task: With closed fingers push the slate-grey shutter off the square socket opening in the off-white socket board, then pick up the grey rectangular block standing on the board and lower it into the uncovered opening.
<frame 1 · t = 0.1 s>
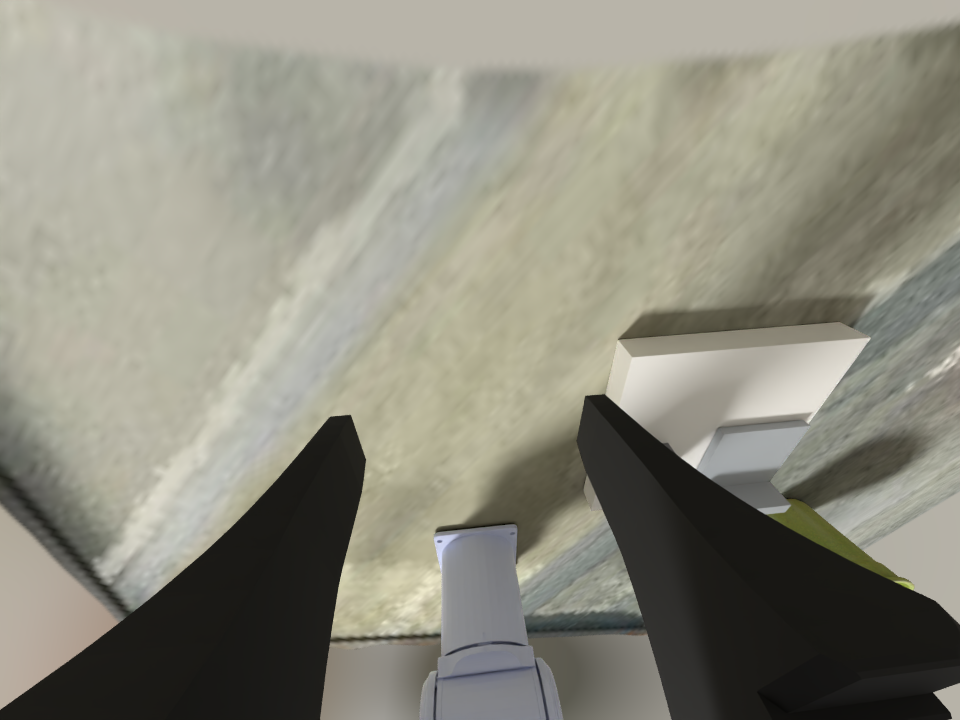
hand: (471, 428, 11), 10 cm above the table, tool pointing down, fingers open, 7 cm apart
plant pot: (771, 512, 37), on the table
socket board: (691, 419, 27), on the table
shutter: (753, 472, 25), point 3 cm above the table, slide at 0.0 cm
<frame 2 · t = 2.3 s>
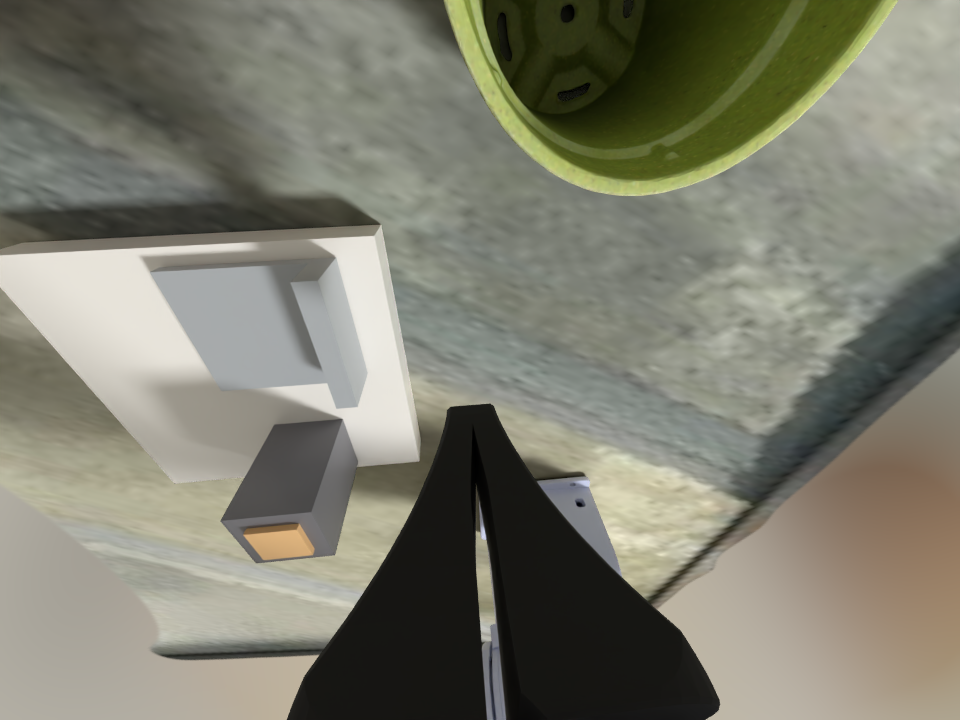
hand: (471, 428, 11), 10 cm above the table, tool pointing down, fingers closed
plant pot: (559, 19, 13), on the table
socket board: (269, 364, 20), on the table
shutter: (264, 341, 15), point 3 cm above the table, slide at 0.0 cm
grey rectangular block: (318, 444, 21), point 2 cm above the table, touching socket board
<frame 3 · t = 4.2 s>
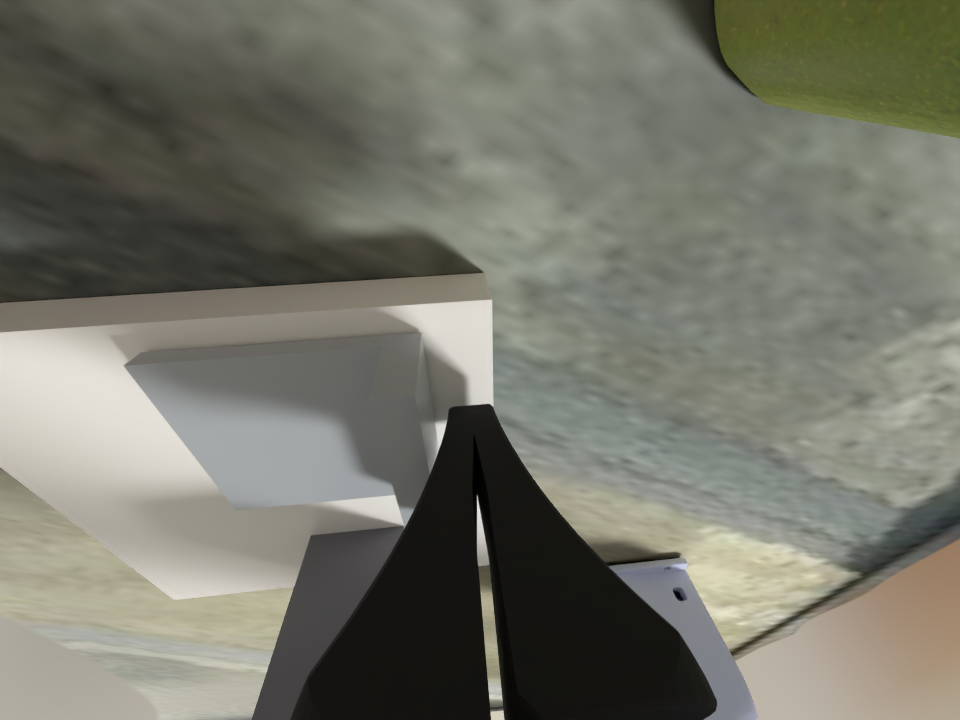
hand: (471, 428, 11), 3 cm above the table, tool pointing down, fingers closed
socket board: (303, 452, 15), on the table
shutter: (306, 459, 10), point 3 cm above the table, slide at 0.2 cm, touching gripper
grey rectangular block: (367, 553, 16), point 2 cm above the table, touching socket board
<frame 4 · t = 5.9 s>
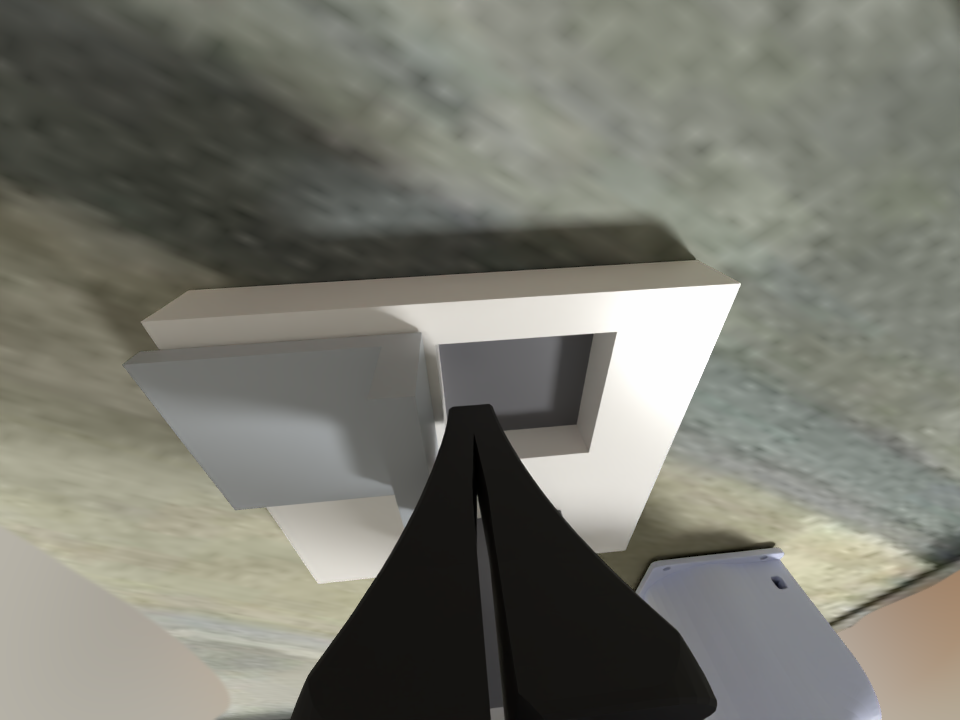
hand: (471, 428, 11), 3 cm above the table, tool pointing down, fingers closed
socket board: (466, 438, 15), on the table
shutter: (305, 459, 10), point 3 cm above the table, slide at 7.2 cm, touching gripper
grey rectangular block: (515, 537, 16), point 2 cm above the table, touching socket board
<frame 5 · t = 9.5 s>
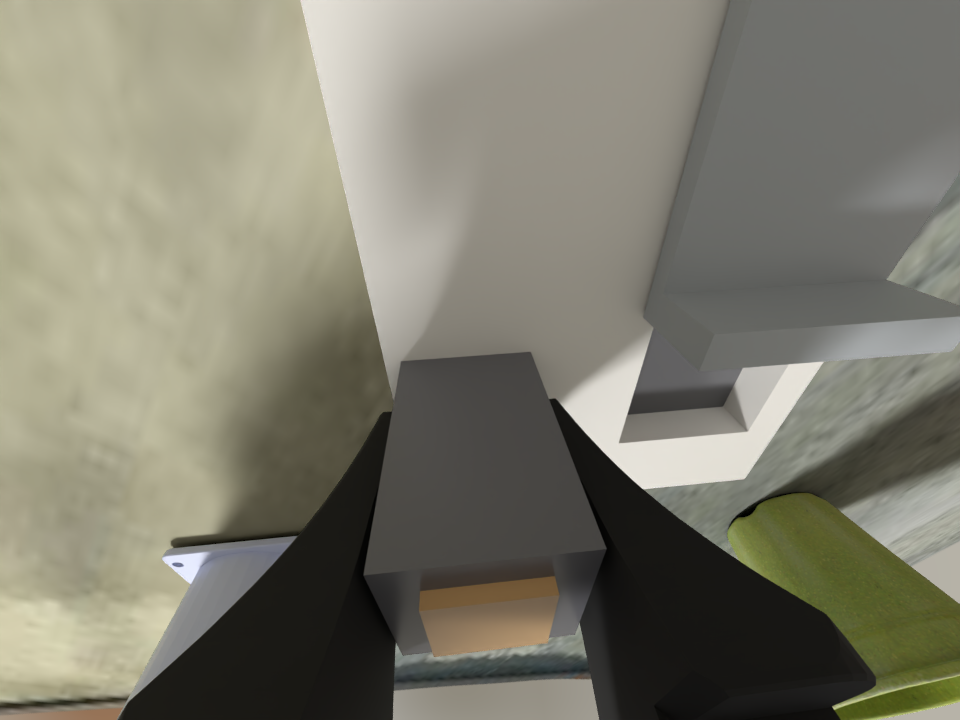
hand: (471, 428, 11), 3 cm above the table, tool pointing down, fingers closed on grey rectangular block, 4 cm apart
plant pot: (770, 514, 23), on the table
socket board: (600, 315, 12), on the table
shutter: (867, 178, 7), point 3 cm above the table, slide at 7.2 cm
grey rectangular block: (469, 404, 12), point 2 cm above the table, touching gripper, socket board
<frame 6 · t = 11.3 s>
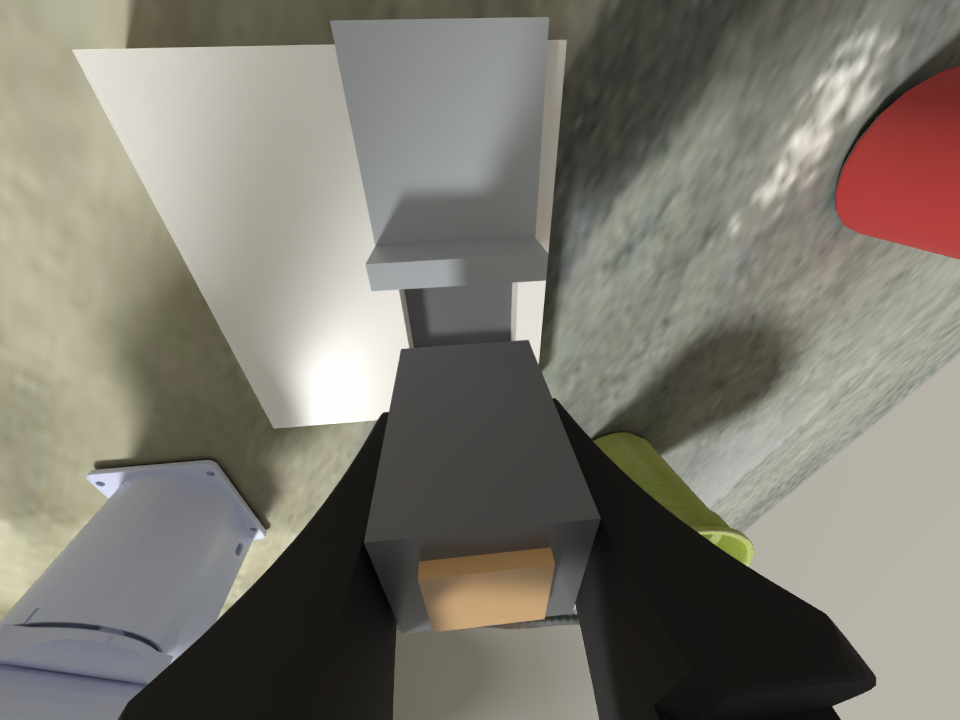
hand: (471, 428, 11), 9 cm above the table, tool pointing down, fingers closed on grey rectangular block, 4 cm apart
plant pot: (609, 455, 27), on the table
beer can: (896, 157, 16), on the table
socket board: (386, 271, 17), on the table
shutter: (451, 166, 11), point 3 cm above the table, slide at 7.2 cm
grey rectangular block: (468, 393, 12), point 8 cm above the table, touching gripper
when the fingers open (3 cm above the table, at t = 13.0 s): grey rectangular block stays where it is, resting on socket board.
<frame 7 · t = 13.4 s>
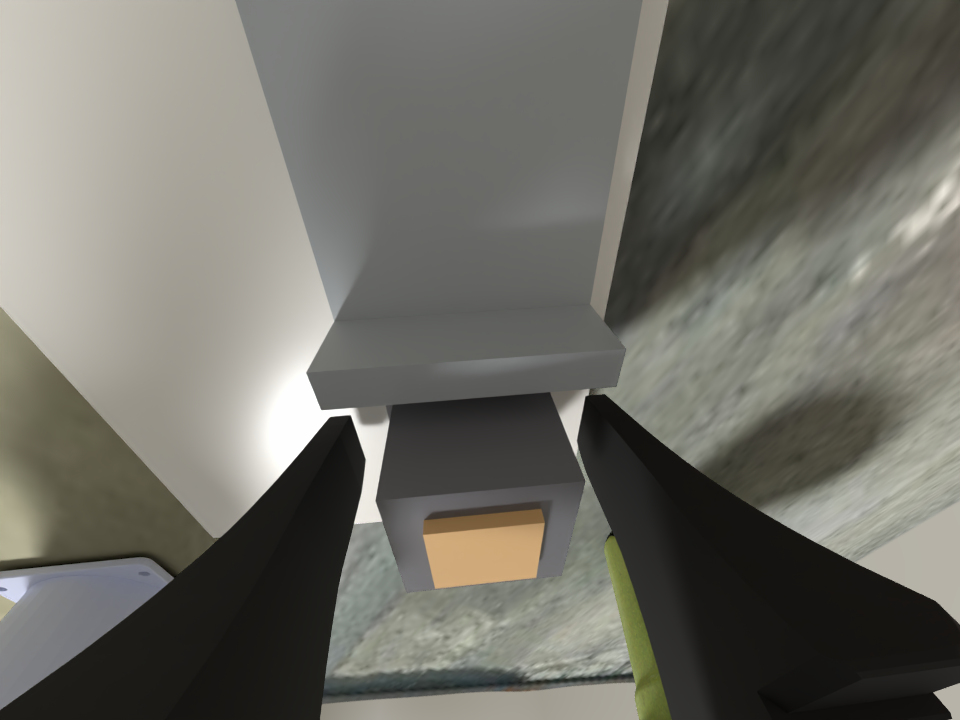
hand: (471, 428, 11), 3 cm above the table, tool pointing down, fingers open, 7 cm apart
plant pot: (648, 532, 22), on the table
socket board: (361, 336, 12), on the table
shutter: (459, 200, 6), point 3 cm above the table, slide at 7.2 cm
grey rectangular block: (467, 379, 13), resting on socket board
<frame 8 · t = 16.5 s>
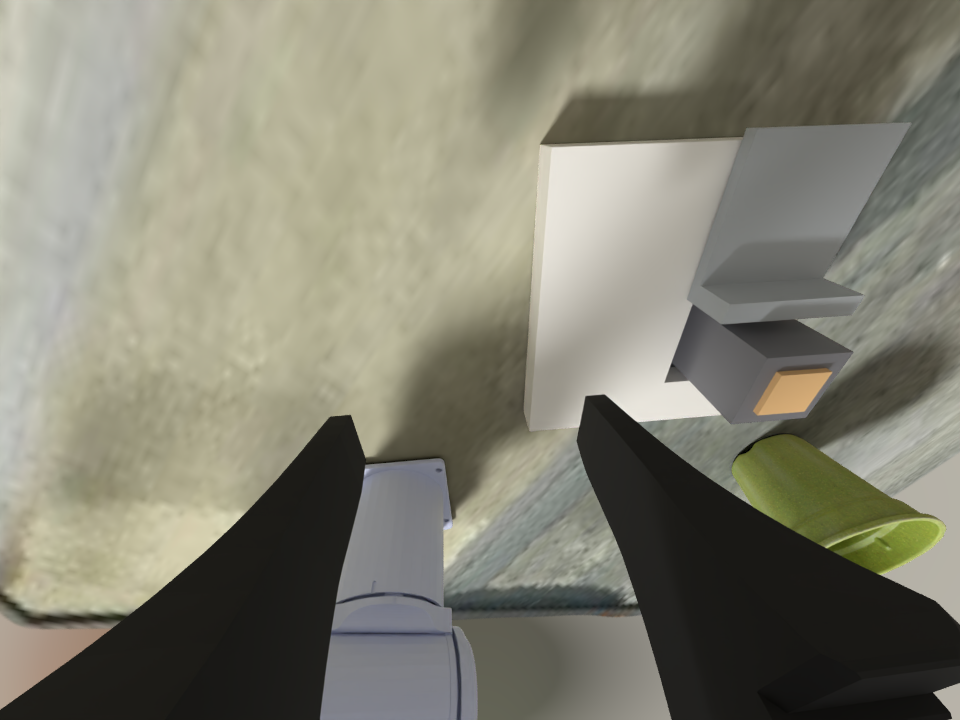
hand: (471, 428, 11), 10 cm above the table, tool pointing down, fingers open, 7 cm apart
plant pot: (763, 454, 30), on the table
socket board: (655, 300, 20), on the table
shutter: (803, 229, 15), point 3 cm above the table, slide at 7.2 cm
grey rectangular block: (707, 327, 21), resting on socket board
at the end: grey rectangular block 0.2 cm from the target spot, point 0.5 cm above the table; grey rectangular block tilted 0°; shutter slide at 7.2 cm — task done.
